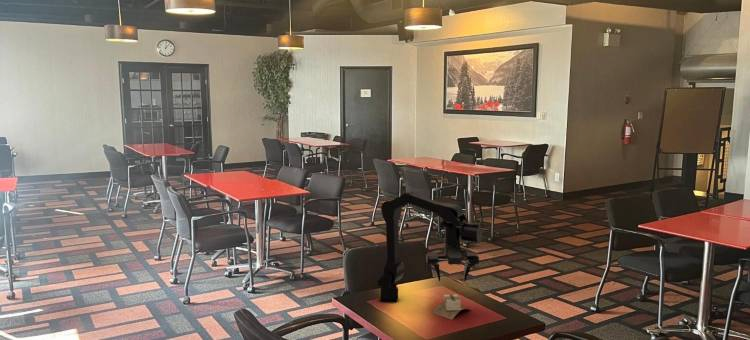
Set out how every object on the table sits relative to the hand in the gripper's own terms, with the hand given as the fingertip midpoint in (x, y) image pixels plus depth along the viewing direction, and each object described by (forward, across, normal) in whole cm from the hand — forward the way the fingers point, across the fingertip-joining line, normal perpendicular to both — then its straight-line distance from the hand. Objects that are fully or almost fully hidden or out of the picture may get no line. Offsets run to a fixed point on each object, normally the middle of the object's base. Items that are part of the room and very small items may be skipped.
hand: (452, 281), depth 214 cm
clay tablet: (+13, 0, 0) cm, 13 cm away
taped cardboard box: (+10, 0, 0) cm, 10 cm away
